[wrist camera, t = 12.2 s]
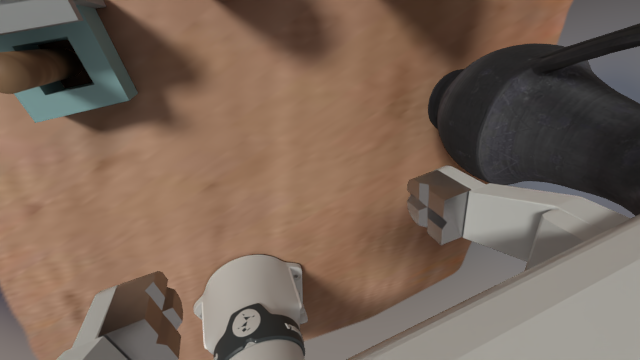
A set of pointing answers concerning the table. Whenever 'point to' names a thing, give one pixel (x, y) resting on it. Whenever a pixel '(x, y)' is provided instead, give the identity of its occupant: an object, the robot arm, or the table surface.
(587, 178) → the pitcher
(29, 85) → the peg
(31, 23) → the socket station
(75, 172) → the table surface
